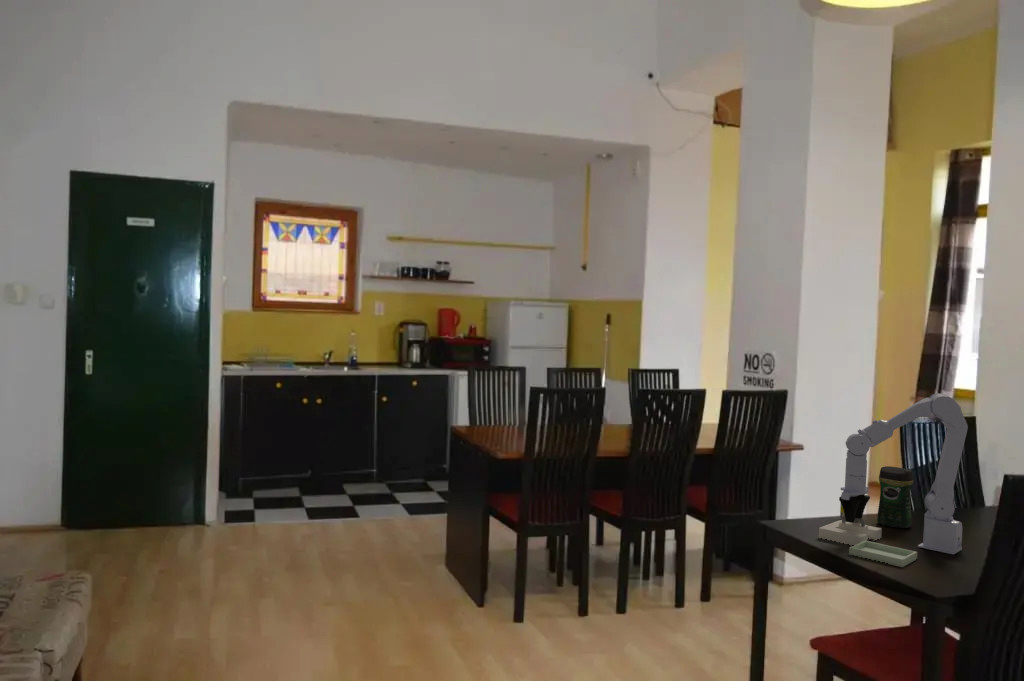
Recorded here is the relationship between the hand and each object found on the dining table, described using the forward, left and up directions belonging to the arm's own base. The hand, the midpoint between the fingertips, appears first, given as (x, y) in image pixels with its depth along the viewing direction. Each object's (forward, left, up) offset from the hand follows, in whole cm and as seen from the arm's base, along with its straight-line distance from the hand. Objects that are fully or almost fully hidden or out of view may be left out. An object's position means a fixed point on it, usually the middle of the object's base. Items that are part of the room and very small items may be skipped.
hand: (853, 520), depth 238 cm
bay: (0, 0, -5) cm, 5 cm away
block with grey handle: (0, 0, -6) cm, 6 cm away
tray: (-13, +12, -5) cm, 18 cm away
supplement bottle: (+10, -22, -6) cm, 25 cm away
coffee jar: (-2, -27, -6) cm, 28 cm away
